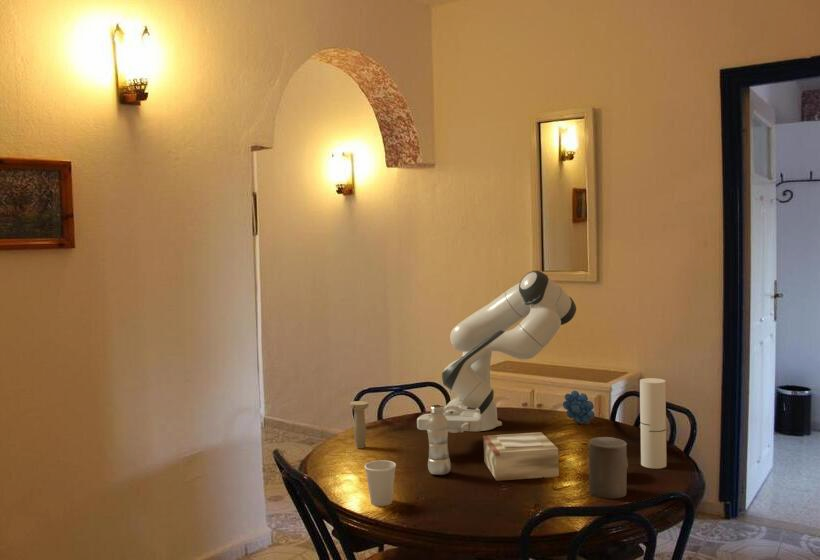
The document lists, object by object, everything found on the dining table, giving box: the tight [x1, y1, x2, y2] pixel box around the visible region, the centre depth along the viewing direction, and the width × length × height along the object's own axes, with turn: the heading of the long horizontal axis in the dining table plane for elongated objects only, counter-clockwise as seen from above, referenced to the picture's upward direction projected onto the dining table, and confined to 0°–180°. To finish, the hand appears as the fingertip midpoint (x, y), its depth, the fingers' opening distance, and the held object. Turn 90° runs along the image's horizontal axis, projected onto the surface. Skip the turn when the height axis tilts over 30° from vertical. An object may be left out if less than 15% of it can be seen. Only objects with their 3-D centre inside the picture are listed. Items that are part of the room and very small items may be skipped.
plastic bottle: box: [426, 404, 452, 476], centre depth 220 cm, size 6×7×20 cm
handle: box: [349, 400, 369, 449], centre depth 250 cm, size 5×6×15 cm
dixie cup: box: [363, 459, 397, 507], centre depth 199 cm, size 8×8×10 cm
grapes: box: [562, 390, 596, 425], centre depth 270 cm, size 12×7×12 cm, turn 58°
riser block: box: [482, 431, 560, 481], centre depth 222 cm, size 18×18×8 cm
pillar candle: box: [588, 436, 628, 500], centre depth 200 cm, size 10×10×15 cm
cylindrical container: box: [639, 377, 667, 470], centre depth 221 cm, size 7×7×25 cm
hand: (444, 429), depth 228 cm, fingers open, 8 cm apart
